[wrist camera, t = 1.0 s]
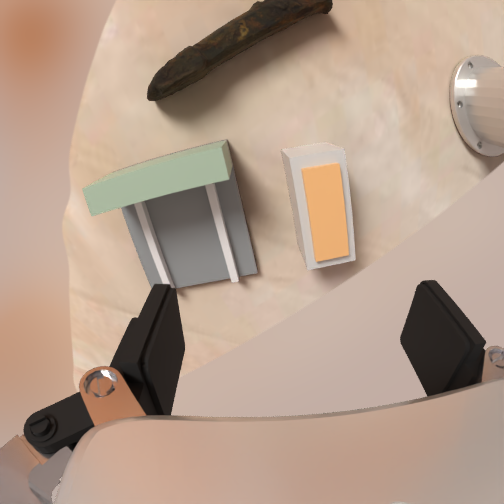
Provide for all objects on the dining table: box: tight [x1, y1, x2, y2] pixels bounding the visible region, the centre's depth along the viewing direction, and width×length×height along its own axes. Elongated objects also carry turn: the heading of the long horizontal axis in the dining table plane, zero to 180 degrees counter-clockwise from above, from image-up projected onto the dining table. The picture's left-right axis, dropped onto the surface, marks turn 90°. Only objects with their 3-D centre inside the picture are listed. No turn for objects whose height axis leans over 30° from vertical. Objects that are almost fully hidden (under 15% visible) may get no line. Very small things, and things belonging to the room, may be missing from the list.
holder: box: [281, 142, 356, 270], centre depth 27 cm, size 4×10×7 cm, turn 12°
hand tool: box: [147, 0, 333, 101], centre depth 21 cm, size 19×4×5 cm, turn 122°
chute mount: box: [82, 140, 258, 288], centre depth 28 cm, size 12×14×7 cm
